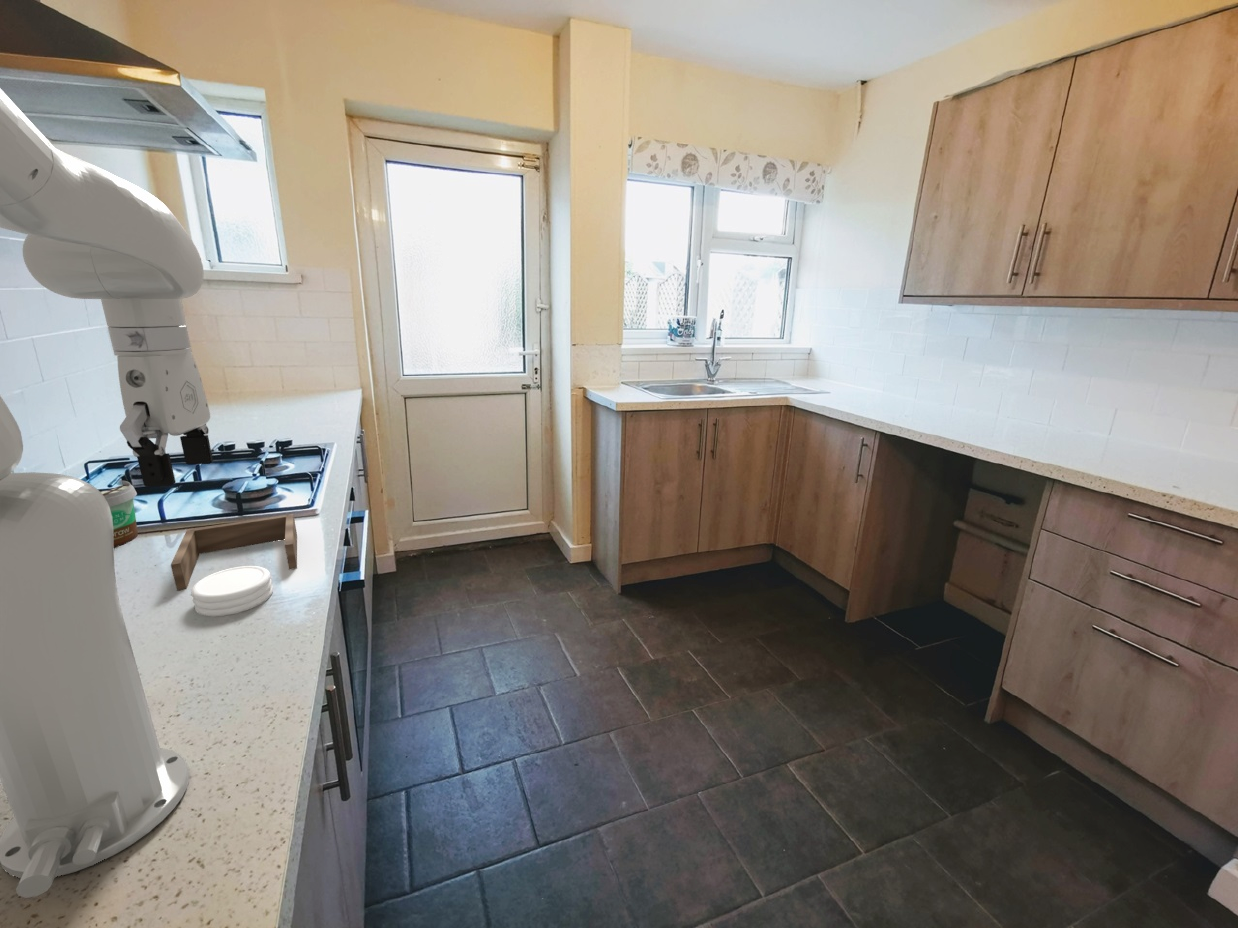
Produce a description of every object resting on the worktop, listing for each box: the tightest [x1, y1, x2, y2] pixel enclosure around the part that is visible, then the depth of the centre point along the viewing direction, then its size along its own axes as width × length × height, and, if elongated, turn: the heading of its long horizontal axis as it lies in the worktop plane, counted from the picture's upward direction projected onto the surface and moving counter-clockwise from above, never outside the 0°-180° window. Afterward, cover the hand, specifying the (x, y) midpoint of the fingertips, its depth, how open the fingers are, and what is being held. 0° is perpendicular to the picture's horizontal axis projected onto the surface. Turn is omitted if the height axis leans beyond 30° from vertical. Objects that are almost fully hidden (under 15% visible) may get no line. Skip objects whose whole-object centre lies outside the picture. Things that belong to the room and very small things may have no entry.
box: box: [170, 513, 298, 592], centre depth 97 cm, size 15×16×4 cm
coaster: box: [191, 565, 274, 617], centre depth 85 cm, size 10×10×4 cm
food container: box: [99, 480, 139, 548], centre depth 103 cm, size 12×6×10 cm, turn 168°
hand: (181, 473), depth 74 cm, fingers open, 9 cm apart
